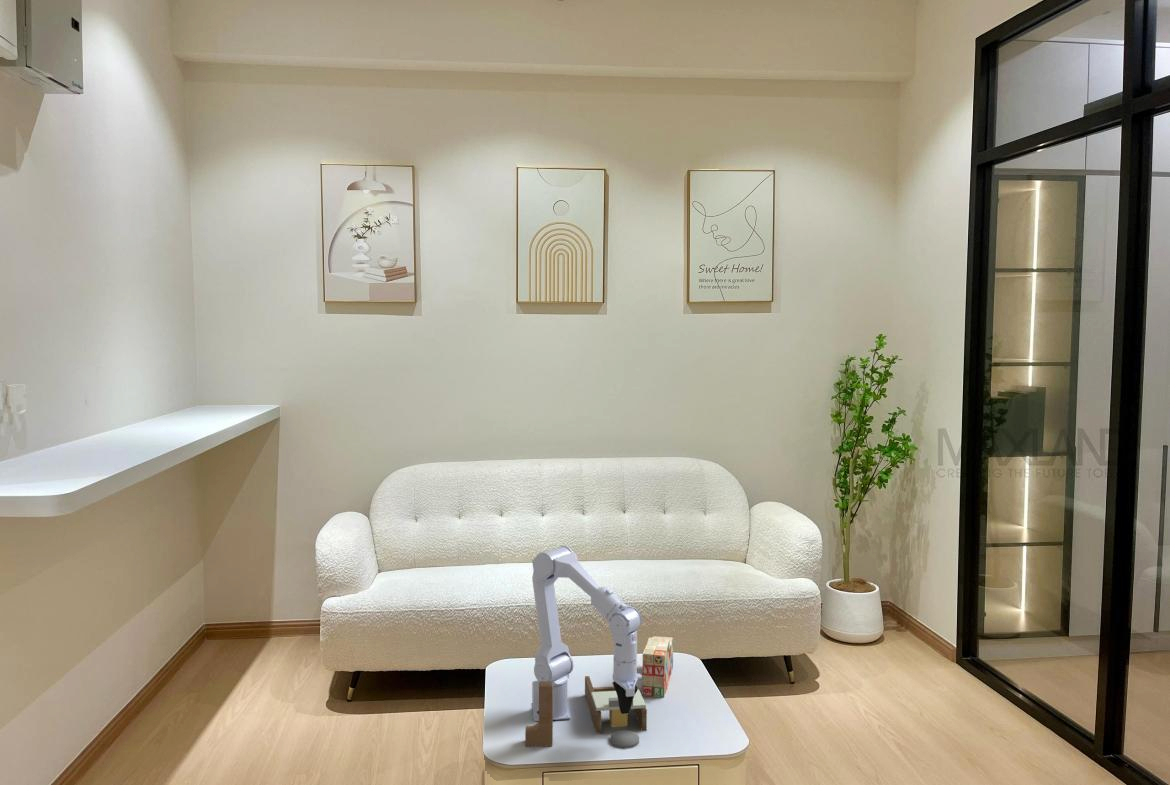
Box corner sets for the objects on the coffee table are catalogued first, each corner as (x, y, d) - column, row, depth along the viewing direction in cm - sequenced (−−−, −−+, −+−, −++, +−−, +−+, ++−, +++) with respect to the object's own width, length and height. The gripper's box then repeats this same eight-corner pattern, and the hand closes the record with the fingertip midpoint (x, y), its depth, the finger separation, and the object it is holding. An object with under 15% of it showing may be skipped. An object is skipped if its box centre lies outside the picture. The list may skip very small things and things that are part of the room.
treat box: (596, 733, 201) (596, 713, 200) (584, 694, 223) (584, 676, 222) (646, 730, 202) (646, 710, 202) (630, 692, 224) (630, 673, 224)
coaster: (613, 748, 193) (613, 745, 193) (608, 734, 200) (608, 731, 200) (641, 747, 194) (641, 743, 194) (636, 733, 201) (636, 729, 201)
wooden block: (552, 739, 198) (552, 680, 197) (552, 746, 194) (552, 686, 193) (526, 740, 198) (525, 680, 196) (525, 746, 194) (525, 686, 193)
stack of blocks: (652, 665, 243) (653, 625, 242) (673, 667, 242) (673, 627, 241) (642, 696, 222) (642, 652, 221) (664, 698, 221) (664, 654, 220)
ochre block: (611, 727, 204) (611, 708, 204) (609, 719, 208) (609, 700, 208) (627, 726, 205) (627, 707, 205) (624, 718, 209) (624, 700, 208)
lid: (596, 710, 201) (596, 701, 201) (591, 695, 210) (591, 686, 210) (645, 707, 203) (645, 698, 202) (638, 692, 212) (638, 683, 211)
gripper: (647, 669, 189) (646, 725, 190) (635, 646, 204) (635, 698, 204) (617, 671, 188) (617, 727, 189) (608, 647, 203) (607, 699, 204)
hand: (624, 712), depth 197 cm, fingers closed
